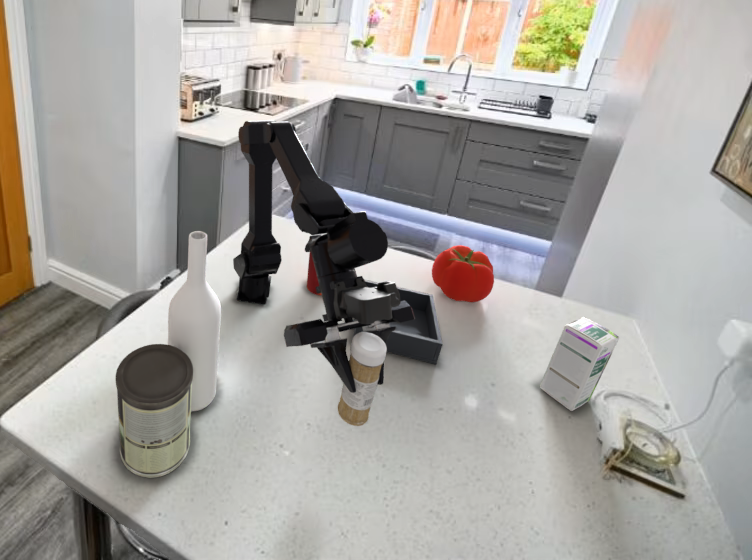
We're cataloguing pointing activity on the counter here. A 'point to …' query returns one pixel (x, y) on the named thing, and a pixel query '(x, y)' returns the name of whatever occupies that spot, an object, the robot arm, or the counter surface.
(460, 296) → the tomato
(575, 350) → the syrup box
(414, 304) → the bin
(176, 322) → the bottle
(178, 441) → the coffee can
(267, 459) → the counter surface
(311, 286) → the paper cup
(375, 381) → the sprinkles bottle
